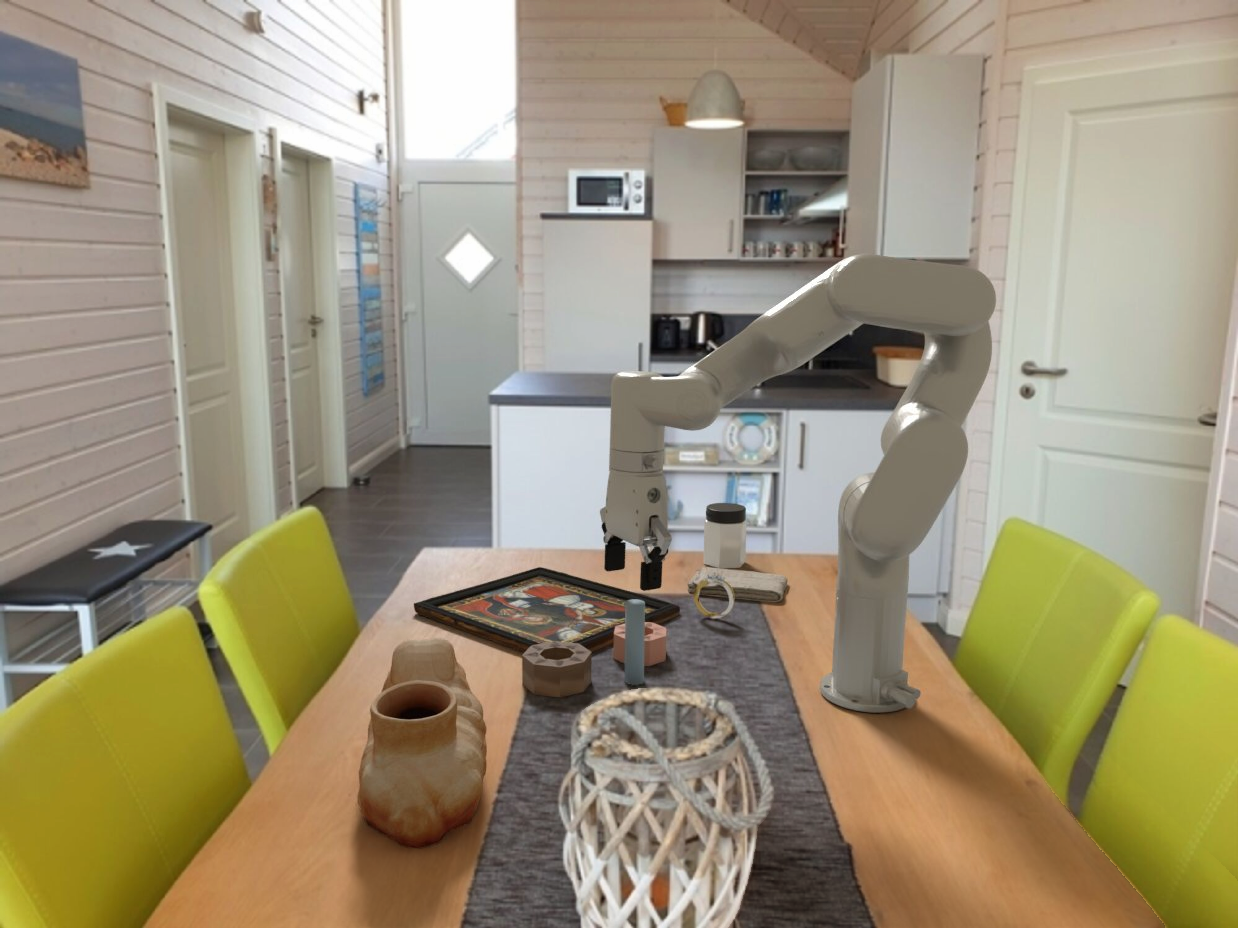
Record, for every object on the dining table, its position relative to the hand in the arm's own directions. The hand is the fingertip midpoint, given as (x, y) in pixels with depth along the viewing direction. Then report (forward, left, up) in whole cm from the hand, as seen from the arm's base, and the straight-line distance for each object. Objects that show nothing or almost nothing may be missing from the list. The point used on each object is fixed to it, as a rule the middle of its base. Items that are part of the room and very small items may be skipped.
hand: (632, 579), depth 136 cm
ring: (+16, -26, -16) cm, 35 cm away
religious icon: (+32, -2, -16) cm, 36 cm away
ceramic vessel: (-14, +36, -16) cm, 41 cm away
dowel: (0, 0, -15) cm, 15 cm away
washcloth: (+27, -40, -16) cm, 51 cm away
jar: (+42, -48, -16) cm, 66 cm away
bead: (+5, +10, -15) cm, 19 cm away
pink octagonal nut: (+8, -6, -15) cm, 18 cm away
